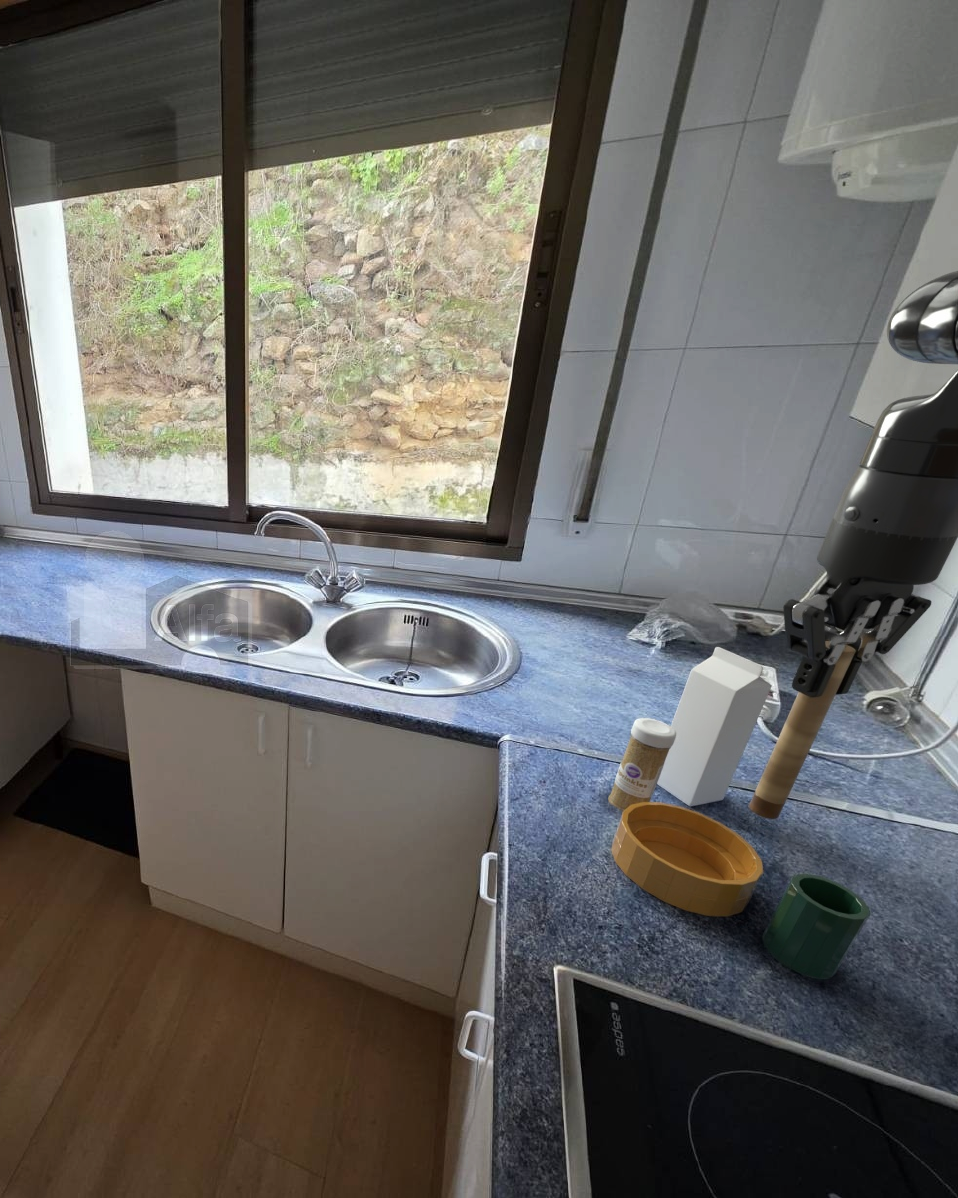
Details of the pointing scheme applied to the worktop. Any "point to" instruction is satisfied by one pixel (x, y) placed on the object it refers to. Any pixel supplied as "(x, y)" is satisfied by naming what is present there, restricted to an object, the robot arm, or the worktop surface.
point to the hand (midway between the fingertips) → (818, 690)
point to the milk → (713, 727)
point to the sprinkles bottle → (642, 762)
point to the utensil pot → (815, 925)
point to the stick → (796, 743)
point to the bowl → (686, 858)
